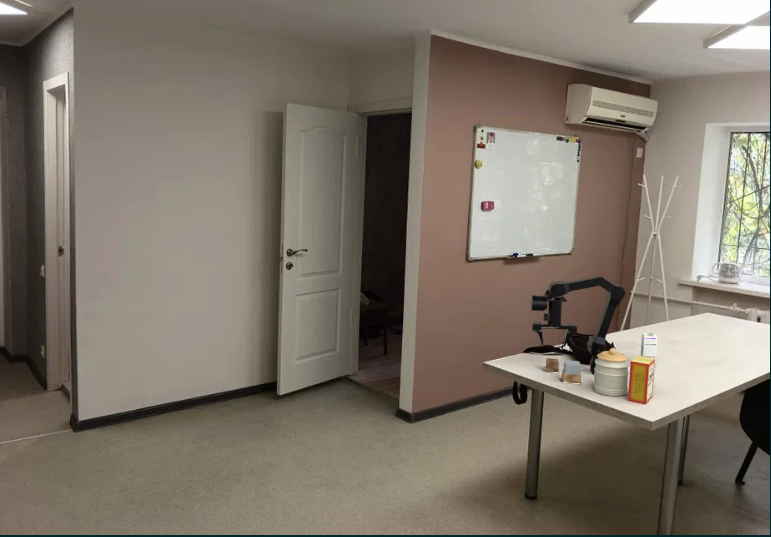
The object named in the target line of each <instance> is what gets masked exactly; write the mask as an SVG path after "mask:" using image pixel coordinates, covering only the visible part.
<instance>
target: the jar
mask: <svg viewBox="0 0 771 537" xmlns="http://www.w3.org/2000/svg"><path fill="white" fill-rule="evenodd" d="M597 357H598V358H597V359H596V360H595V363H596V367H595V368H594V370H595V372H594V374H593V383H592V384H593V385H592V387H593V391H594V392H596V393H597V392H598V394H601V395H604V396H608V397H622V396H625V395H627V394H628V391H629V375H630V371H628V370H629V367H630V363H629V362H628V361H627V360H628V357H627V356H626V355H625V354H624V353H622V352H618V351H617V350H616V348H614V347H612V348H610V349H609V350H605V351H604V352H601V353H600V354H598V355H597Z"/></svg>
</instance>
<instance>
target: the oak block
mask: <svg viewBox="0 0 771 537" xmlns="http://www.w3.org/2000/svg"><path fill="white" fill-rule="evenodd" d="M562 379H563V380H562ZM561 380H562V382H567V383H566V384H571V383H581V384H582V373H581V372H580V375H573V374H565V372H564V368H562V370H561Z"/></svg>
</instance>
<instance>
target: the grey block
mask: <svg viewBox="0 0 771 537" xmlns="http://www.w3.org/2000/svg"><path fill="white" fill-rule="evenodd" d="M563 362H564V363H563V369H564V372H565V374H573V375H580V373H581V369H582V367H581V363H580V361H578V360H563Z"/></svg>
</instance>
